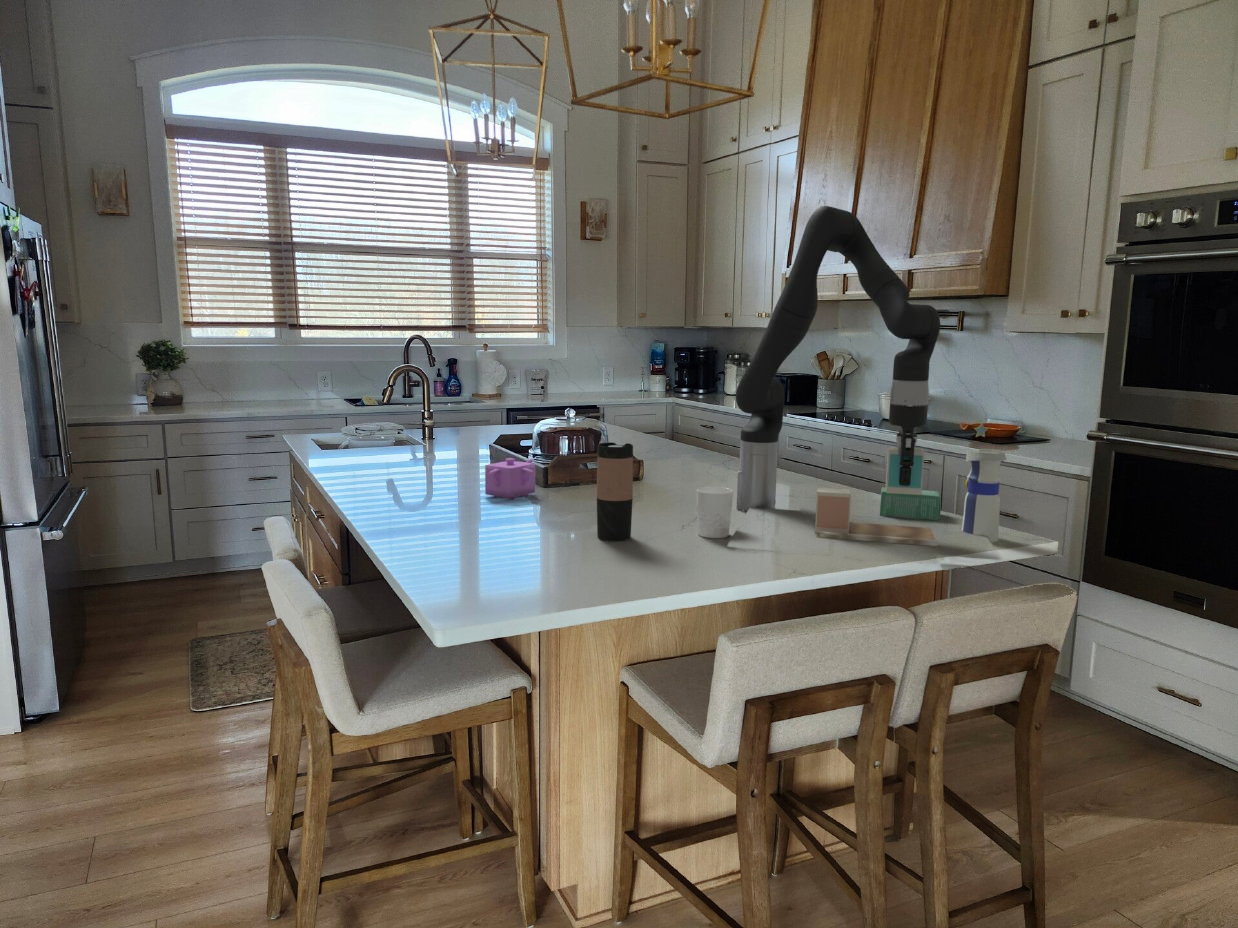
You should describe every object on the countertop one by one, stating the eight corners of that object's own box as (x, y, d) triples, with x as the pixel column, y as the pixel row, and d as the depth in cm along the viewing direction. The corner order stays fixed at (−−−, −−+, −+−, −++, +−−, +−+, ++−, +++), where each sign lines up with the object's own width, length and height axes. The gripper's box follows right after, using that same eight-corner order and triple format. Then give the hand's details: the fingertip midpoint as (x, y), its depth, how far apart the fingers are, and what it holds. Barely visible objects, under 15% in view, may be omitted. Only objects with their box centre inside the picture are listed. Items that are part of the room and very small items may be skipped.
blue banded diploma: (949, 535, 192) (957, 423, 188) (978, 532, 196) (987, 422, 192) (977, 543, 185) (987, 427, 181) (1007, 540, 188) (1017, 426, 184)
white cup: (734, 532, 192) (736, 488, 190) (727, 540, 184) (728, 494, 183) (700, 529, 194) (701, 485, 193) (691, 537, 187) (692, 491, 185)
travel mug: (606, 542, 181) (607, 447, 177) (590, 534, 187) (591, 443, 184) (638, 539, 184) (640, 446, 181) (621, 531, 191) (623, 441, 188)
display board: (816, 543, 183) (816, 532, 182) (819, 526, 199) (819, 515, 199) (936, 553, 177) (937, 541, 176) (929, 534, 193) (930, 523, 192)
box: (939, 526, 201) (941, 495, 200) (878, 522, 205) (880, 491, 204) (937, 520, 208) (939, 489, 207) (878, 516, 212) (880, 486, 211)
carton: (886, 493, 181) (888, 450, 179) (885, 488, 186) (887, 447, 184) (921, 495, 179) (924, 452, 178) (919, 490, 184) (922, 448, 183)
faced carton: (814, 533, 186) (817, 491, 184) (815, 527, 191) (818, 487, 189) (848, 535, 184) (851, 494, 183) (848, 530, 189) (851, 489, 187)
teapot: (515, 488, 240) (514, 452, 238) (555, 494, 232) (555, 456, 231) (470, 498, 225) (470, 460, 223) (512, 505, 217) (512, 465, 216)
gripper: (888, 399, 187) (883, 476, 190) (891, 404, 174) (886, 487, 176) (925, 400, 185) (920, 478, 188) (931, 405, 172) (925, 490, 174)
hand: (903, 482), depth 182 cm, fingers closed on carton, 5 cm apart
